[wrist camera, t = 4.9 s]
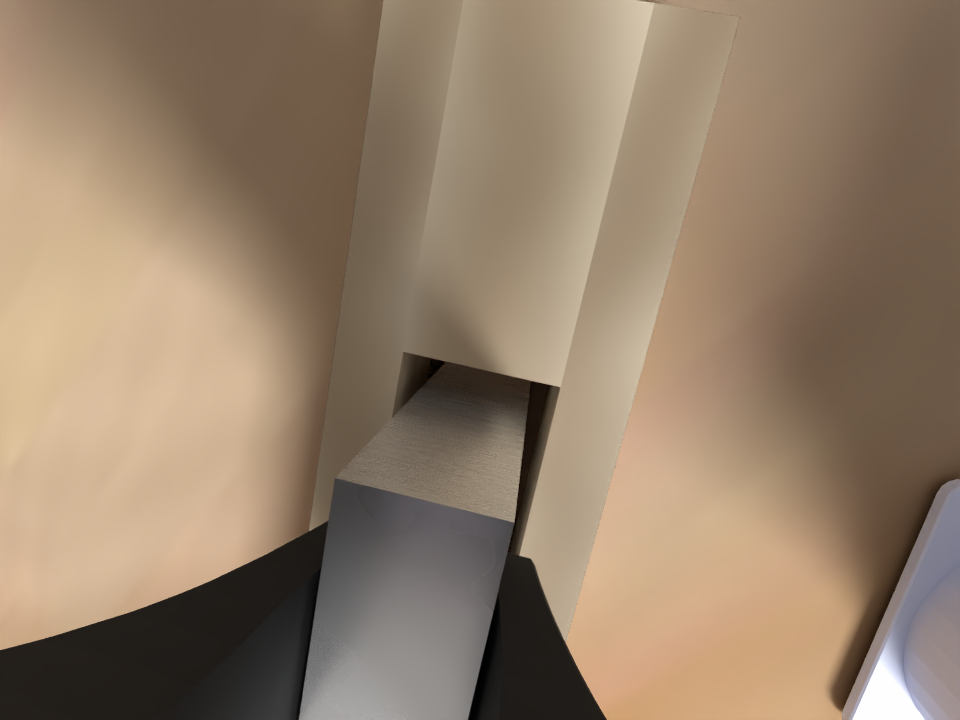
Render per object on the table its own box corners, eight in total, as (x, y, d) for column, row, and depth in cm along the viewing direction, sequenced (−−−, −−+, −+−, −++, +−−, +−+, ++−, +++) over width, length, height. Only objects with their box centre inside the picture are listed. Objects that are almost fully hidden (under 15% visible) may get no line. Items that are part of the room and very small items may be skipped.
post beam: (686, 83, 12) (739, 16, 9) (499, 790, 17) (488, 922, 14) (430, 38, 13) (389, -41, 9) (317, 736, 18) (263, 851, 14)
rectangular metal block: (531, 378, 14) (514, 523, 6) (488, 565, 16) (431, 872, 8) (447, 359, 14) (334, 477, 7) (412, 546, 16) (283, 826, 8)
